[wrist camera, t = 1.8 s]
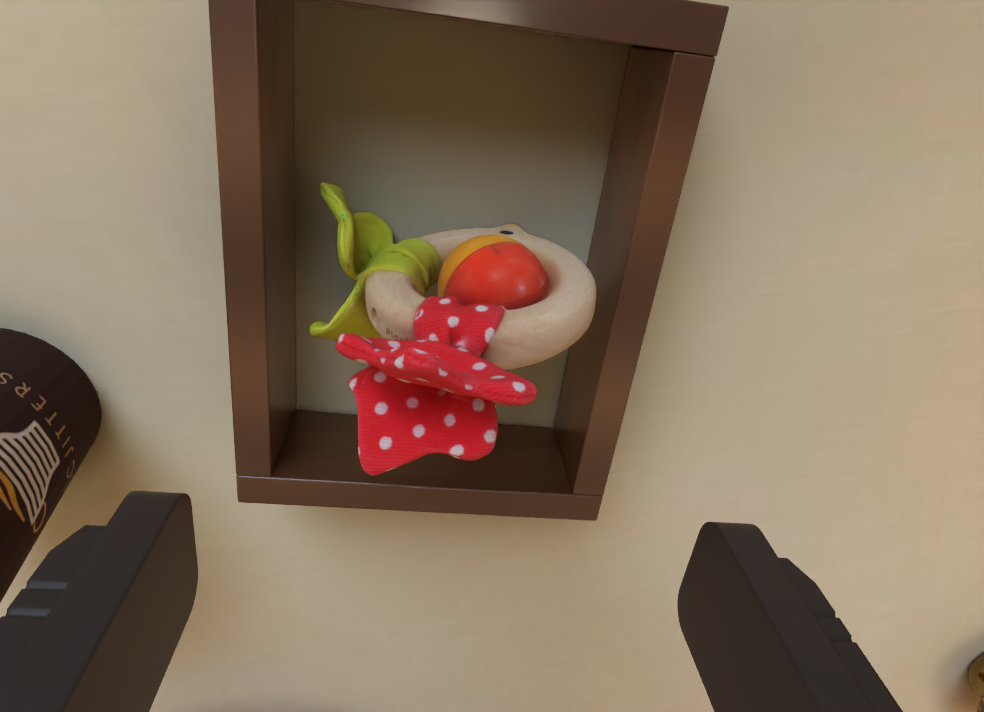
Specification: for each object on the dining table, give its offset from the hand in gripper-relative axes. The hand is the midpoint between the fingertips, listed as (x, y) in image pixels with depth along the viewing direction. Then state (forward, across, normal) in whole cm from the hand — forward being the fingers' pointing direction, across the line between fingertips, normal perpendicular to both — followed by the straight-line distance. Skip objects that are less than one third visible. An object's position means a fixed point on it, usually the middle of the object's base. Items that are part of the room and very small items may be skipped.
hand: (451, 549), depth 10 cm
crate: (+15, 0, 0) cm, 16 cm away
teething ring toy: (+16, 0, 0) cm, 16 cm away
